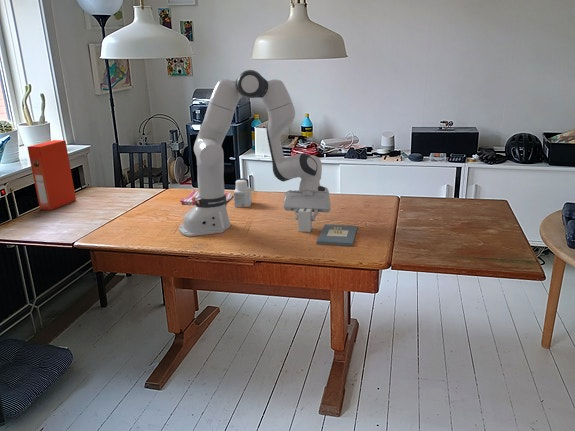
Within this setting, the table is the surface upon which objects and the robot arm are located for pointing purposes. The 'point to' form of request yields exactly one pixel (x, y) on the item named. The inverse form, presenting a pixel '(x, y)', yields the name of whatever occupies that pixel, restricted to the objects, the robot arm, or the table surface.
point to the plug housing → (304, 220)
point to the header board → (337, 235)
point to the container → (242, 193)
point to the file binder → (52, 174)
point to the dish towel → (195, 194)
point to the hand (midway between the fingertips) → (304, 219)
